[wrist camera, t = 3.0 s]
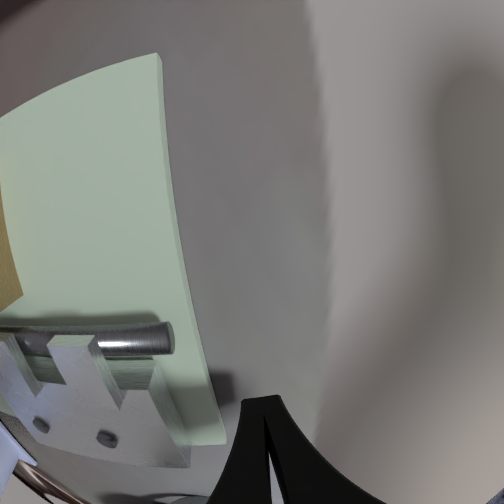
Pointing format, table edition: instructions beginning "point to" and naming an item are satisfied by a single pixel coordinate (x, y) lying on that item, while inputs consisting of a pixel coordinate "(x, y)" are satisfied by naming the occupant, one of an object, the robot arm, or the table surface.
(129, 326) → the bronze leaf
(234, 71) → the table surface
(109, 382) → the steel leaf
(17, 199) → the board
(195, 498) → the ceramic mug
